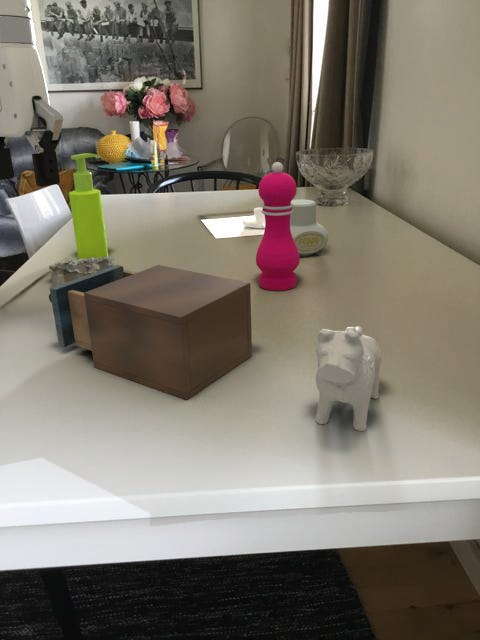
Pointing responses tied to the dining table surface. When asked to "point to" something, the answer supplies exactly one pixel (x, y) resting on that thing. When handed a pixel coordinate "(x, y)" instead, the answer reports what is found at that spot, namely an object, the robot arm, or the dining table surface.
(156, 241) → the dining table surface
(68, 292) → the drawer
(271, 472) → the dining table surface
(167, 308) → the cabinet
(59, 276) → the egg carton
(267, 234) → the pepper mill
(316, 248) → the air freshener
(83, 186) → the soap dispenser
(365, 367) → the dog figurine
